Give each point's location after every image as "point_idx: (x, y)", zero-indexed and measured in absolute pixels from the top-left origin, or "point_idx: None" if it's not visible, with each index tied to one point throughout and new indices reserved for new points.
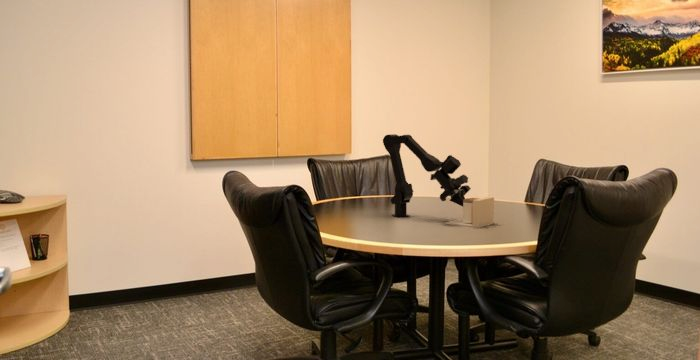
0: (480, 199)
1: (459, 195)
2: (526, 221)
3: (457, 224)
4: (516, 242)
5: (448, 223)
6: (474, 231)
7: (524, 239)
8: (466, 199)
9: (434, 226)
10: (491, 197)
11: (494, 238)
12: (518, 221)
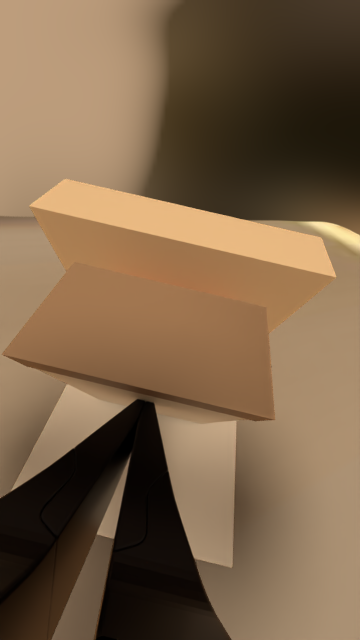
0: (247, 236)
1: (210, 629)
2: (33, 231)
3: (235, 448)
4: (336, 239)
5: (232, 533)
6: (299, 335)
7: (297, 230)
8: (227, 378)
9: (348, 627)
10: (81, 188)
11: (340, 274)
12: (35, 247)
